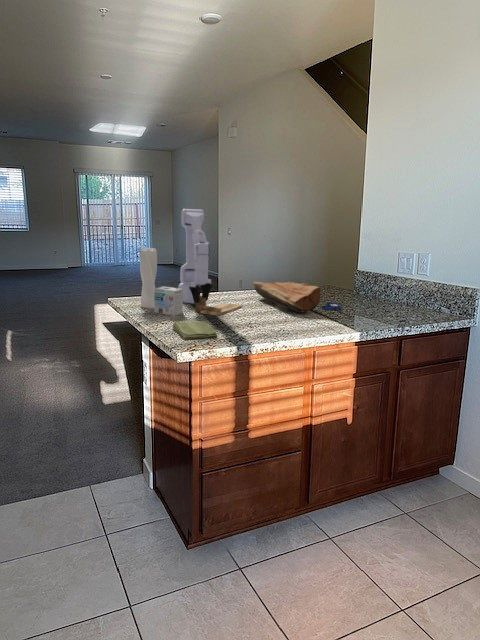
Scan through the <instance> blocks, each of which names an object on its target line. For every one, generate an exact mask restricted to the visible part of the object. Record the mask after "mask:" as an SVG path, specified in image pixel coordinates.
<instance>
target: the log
mask: <svg viewBox="0 0 480 640" xmlns="http://www.w3.org/2000/svg"><path fill="white" fill-rule="evenodd" d="M253 287H254V290H255V292H256V293H257V294H258V295H259V296H260V297H262V298H263V299H265V300H267V301H269V302H272V303H273V304H275V305H277V306H279V307H282V308H283V309H290V310H293V311H294V312H297V313H307V312H310V311H313V310H314V309H316V308H317V307H318V305H320V301H321V296H322V295H321V294H322V293H321V287H320V286H317V285H316V286H315V285H310V283H309V282H308V283H307V282H303V283H297V282H293V281H291V280H290V281H286V282H280V281H276V282H263V281H253Z"/></svg>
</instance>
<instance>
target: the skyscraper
mask: <svg viewBox="0 0 480 640" xmlns="http://www.w3.org/2000/svg"><path fill="white" fill-rule="evenodd" d="M139 247H140V254H139V255H140V256H139V272H140V278H141V283H142V286H141V294H140V295H141V297H140V308H147V309H154V295H155V288H156V284H155V283H156V282H155V281H156V278H157V270H158V254H157V249H156V248H154V247H145V246H144V245H143V244H140V245H139Z"/></svg>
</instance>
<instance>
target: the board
mask: <svg viewBox="0 0 480 640" xmlns="http://www.w3.org/2000/svg"><path fill="white" fill-rule="evenodd" d="M213 307H217V308H222V311H213V310H206V309H205V310H202V311H201V312H200V314H205V315H210V316H216V317H217V316H218V317H220V316H223V315H225V314H227V313H230V312H233V311H236V310H238V309H241V308H242V307H243V305H242V304H236V303H228V302H224V303H221V304H217V305H214V306H213Z"/></svg>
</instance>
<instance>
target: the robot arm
mask: <svg viewBox="0 0 480 640" xmlns="http://www.w3.org/2000/svg"><path fill="white" fill-rule="evenodd" d="M180 213H181V215H180V219H181V220H180V222H181V223H180V224H181V227H182V228H184V230H185V257H186V258H185V261H186V262H185V263H184V264H182V265H181V266H180V273H179V280H180V283H179V284H178V286H177V288H179V289H183V303H185V304H186V303H187V304H196V303H199V300H200V296H202V297H204V298H206V302H207V301H208V299H209V295H210V293H211V291H212V288H213V285H214V284H212V279H210V278H209V256H210V254H211V244H210V242H209V241H208V240H207V236H206V233H205V231H203V230H202V225H203V222H204V220H205V211H204V210H203V209H202V208H201V209H194V208H193V209H192V208H183V209H182V210H181V212H180Z"/></svg>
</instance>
